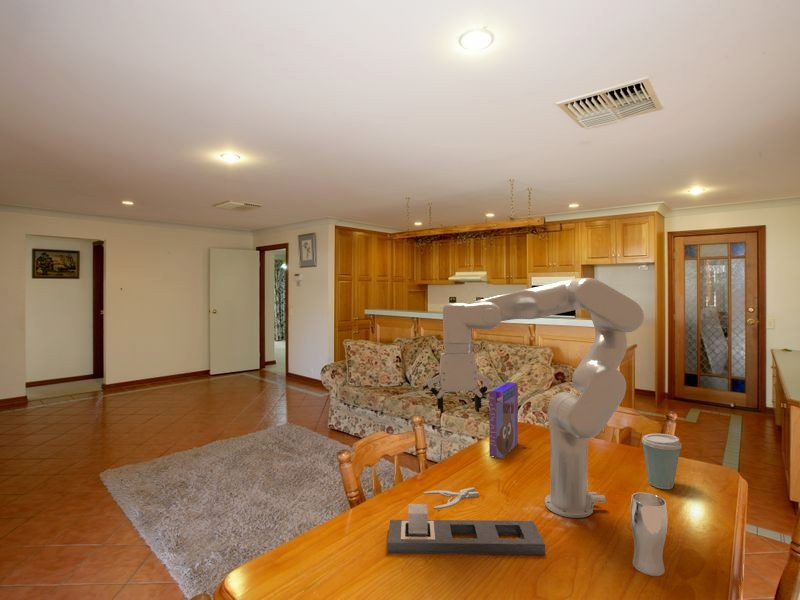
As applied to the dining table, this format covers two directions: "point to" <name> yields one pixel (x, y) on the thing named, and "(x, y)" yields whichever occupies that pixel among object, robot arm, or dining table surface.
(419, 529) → the steel block
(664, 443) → the disposable coffee cup
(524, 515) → the dining table surface
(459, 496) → the pliers
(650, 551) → the beer glass
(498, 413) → the cereal box
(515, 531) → the rail
